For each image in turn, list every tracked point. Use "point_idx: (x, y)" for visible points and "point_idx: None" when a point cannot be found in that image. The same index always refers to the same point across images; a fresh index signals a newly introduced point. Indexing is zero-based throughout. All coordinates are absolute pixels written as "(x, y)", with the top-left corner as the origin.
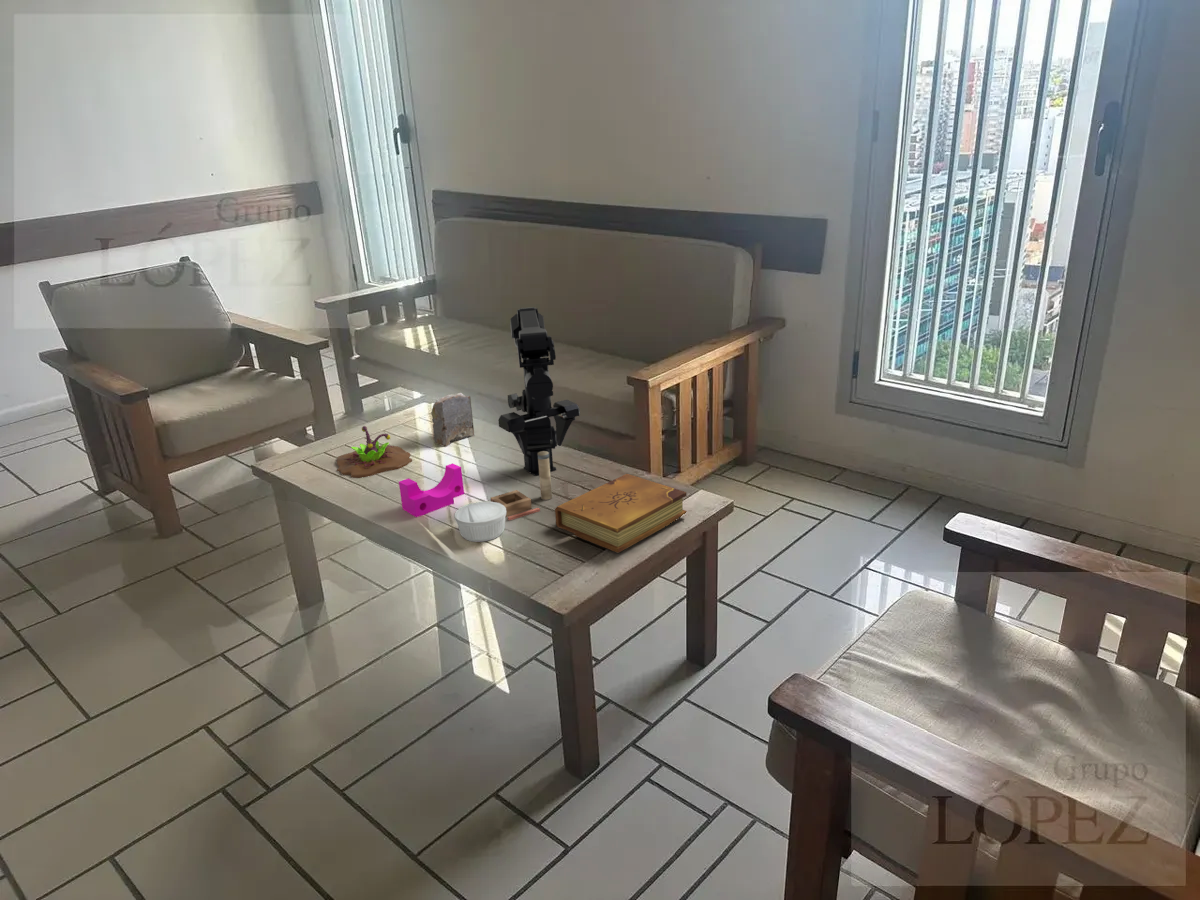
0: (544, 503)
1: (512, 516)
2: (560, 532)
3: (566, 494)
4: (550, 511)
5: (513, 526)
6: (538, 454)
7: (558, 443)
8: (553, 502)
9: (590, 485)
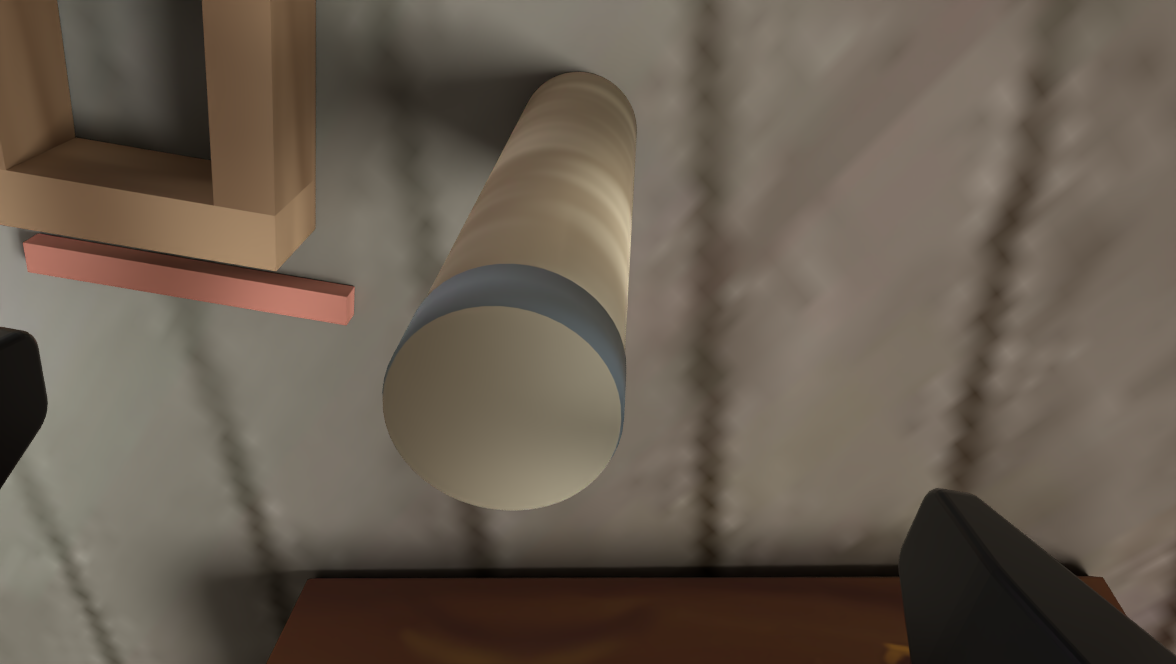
0: None
1: (66, 267)
2: None
3: (770, 221)
4: None
5: None
6: (385, 399)
7: (922, 571)
8: None
9: (1097, 238)
